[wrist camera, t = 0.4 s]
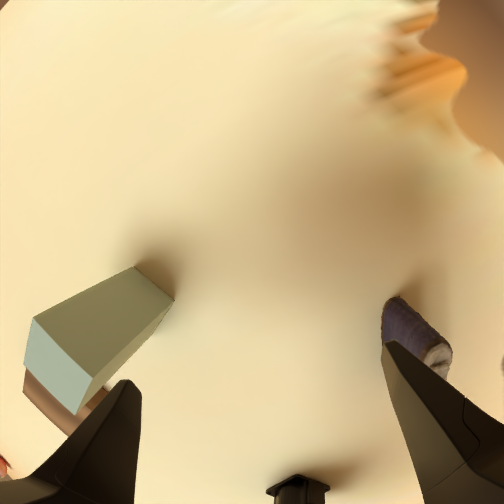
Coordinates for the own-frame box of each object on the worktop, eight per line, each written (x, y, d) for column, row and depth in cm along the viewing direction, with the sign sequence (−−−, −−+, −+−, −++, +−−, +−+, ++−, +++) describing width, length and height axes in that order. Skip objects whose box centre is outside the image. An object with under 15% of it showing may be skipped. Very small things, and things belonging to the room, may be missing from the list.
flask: (411, 374, 24) (450, 445, 14) (384, 382, 25) (416, 459, 14) (406, 292, 23) (466, 348, 12) (376, 301, 23) (424, 365, 13)
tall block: (150, 335, 27) (74, 415, 14) (112, 303, 27) (23, 364, 14) (174, 300, 25) (92, 378, 13) (133, 266, 25) (32, 317, 13)
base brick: (91, 429, 32) (78, 444, 28) (38, 379, 32) (22, 392, 28) (111, 395, 29) (95, 414, 25) (49, 337, 29) (29, 349, 25)
